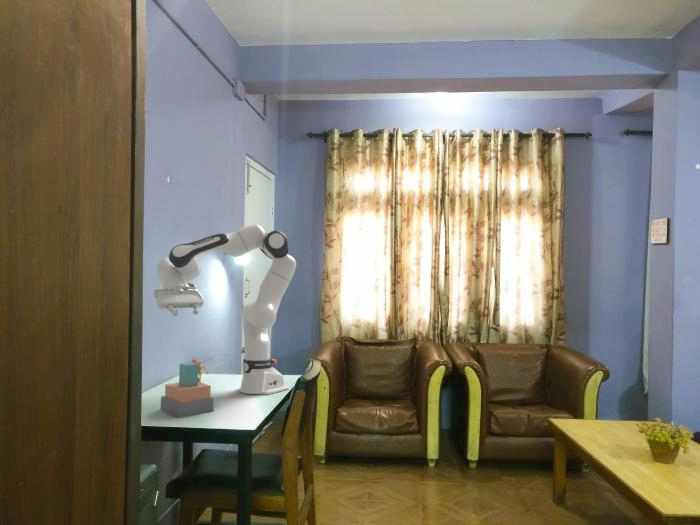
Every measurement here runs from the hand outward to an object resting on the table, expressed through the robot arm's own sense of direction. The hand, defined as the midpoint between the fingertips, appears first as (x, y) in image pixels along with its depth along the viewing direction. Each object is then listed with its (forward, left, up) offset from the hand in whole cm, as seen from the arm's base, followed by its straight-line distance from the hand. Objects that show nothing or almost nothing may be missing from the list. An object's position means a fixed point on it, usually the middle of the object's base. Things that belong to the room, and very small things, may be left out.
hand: (186, 314), depth 218 cm
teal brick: (+9, +19, -25) cm, 33 cm away
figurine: (-10, -6, -35) cm, 36 cm away
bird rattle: (-18, -23, -35) cm, 45 cm away
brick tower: (+9, +19, -34) cm, 40 cm away
